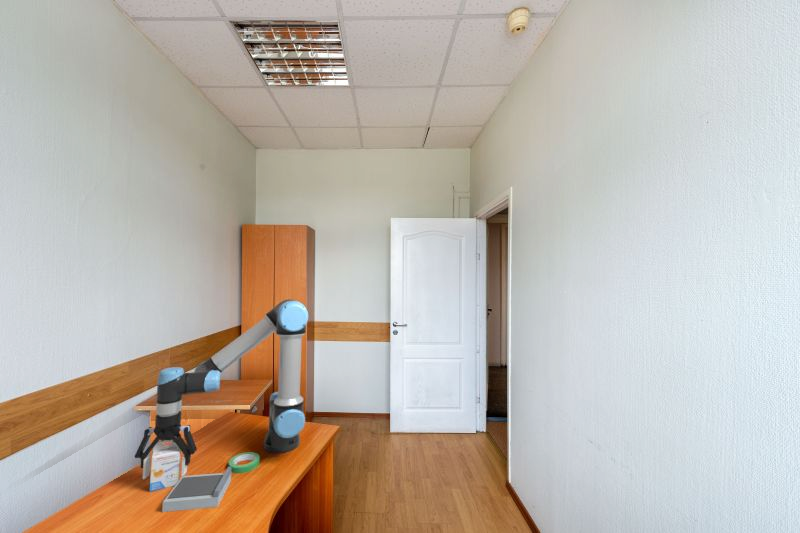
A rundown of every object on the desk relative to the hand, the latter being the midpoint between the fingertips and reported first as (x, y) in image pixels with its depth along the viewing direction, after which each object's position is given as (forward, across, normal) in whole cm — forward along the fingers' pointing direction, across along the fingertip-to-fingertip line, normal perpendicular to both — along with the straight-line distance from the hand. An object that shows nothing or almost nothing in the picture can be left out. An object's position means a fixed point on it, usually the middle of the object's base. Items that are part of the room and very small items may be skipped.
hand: (165, 475), depth 118 cm
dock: (+3, -14, +8) cm, 16 cm away
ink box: (+3, 0, 0) cm, 3 cm away
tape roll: (+4, -24, -9) cm, 26 cm away
